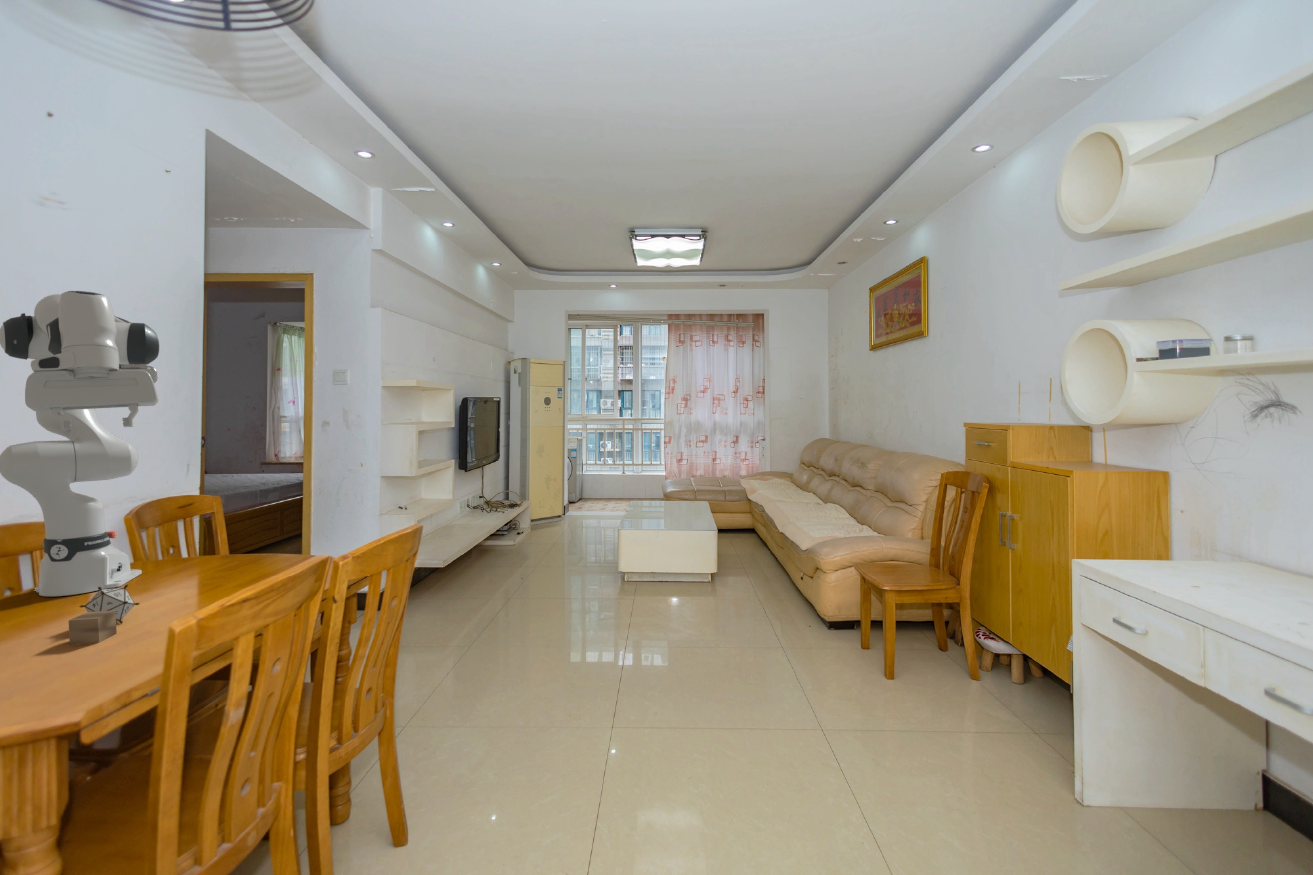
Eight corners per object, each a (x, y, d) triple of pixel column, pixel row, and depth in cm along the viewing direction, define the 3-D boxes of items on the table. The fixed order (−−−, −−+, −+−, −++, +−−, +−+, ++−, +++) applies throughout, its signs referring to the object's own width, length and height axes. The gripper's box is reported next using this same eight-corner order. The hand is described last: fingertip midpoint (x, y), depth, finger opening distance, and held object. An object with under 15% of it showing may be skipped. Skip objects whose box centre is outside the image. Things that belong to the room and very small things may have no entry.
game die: (111, 642, 128) (93, 615, 122) (82, 625, 129) (62, 598, 123) (153, 611, 135) (138, 584, 129) (125, 595, 136) (108, 568, 130)
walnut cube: (88, 635, 122) (87, 612, 122) (116, 633, 123) (115, 610, 123) (69, 645, 117) (68, 620, 117) (99, 643, 118) (98, 618, 118)
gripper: (157, 367, 133) (164, 427, 132) (28, 370, 121) (34, 435, 120) (154, 359, 128) (161, 421, 127) (19, 361, 116) (25, 429, 115)
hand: (98, 428), depth 123 cm, fingers open, 8 cm apart
